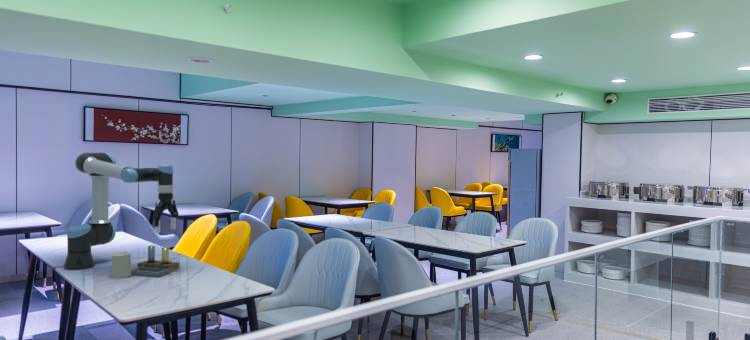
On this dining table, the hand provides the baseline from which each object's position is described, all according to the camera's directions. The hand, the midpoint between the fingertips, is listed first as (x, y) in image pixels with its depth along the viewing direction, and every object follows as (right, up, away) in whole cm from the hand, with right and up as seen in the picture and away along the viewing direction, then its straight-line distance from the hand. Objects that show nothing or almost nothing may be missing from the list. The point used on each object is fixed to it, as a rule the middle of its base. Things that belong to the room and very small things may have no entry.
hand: (165, 230), depth 292 cm
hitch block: (-5, -22, +2) cm, 23 cm away
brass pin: (-1, -22, +1) cm, 22 cm away
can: (-18, -23, -13) cm, 31 cm away
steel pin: (-9, -22, +3) cm, 24 cm away
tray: (-5, -23, -8) cm, 25 cm away
